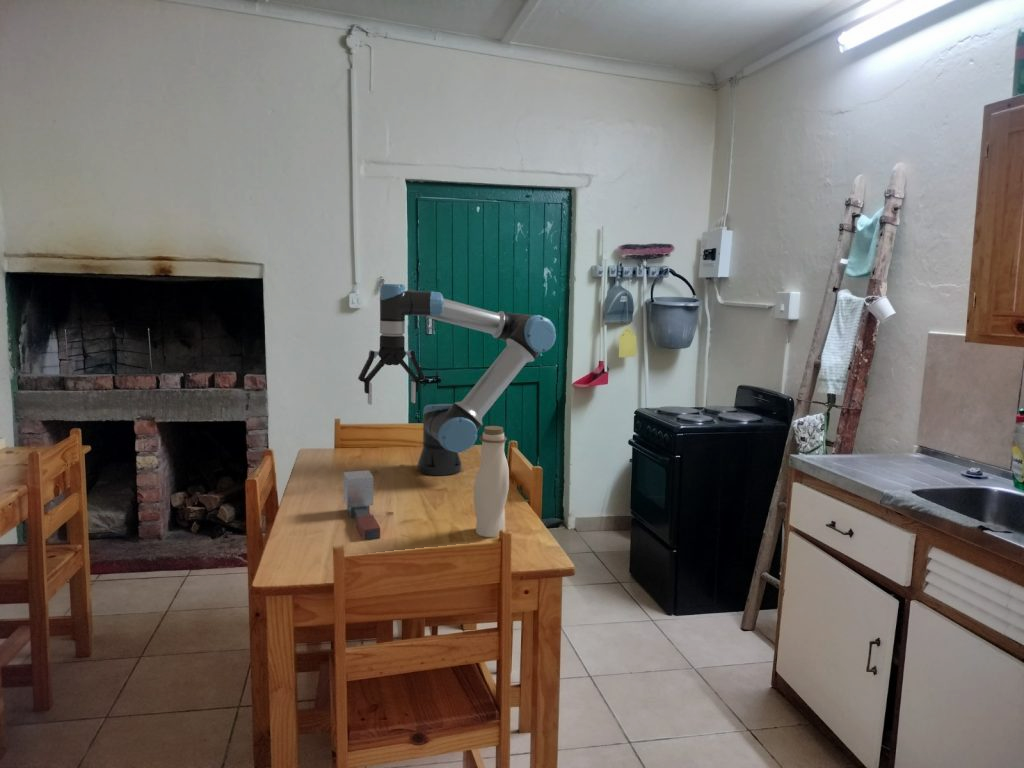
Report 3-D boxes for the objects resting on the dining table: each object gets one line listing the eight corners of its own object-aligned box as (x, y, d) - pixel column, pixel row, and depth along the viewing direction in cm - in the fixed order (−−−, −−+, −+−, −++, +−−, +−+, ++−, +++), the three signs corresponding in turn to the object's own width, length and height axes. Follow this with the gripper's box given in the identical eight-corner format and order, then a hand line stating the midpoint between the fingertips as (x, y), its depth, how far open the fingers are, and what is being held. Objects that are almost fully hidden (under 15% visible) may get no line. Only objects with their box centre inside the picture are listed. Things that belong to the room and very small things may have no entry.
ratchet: (364, 507, 194) (364, 484, 193) (381, 538, 172) (381, 511, 171) (347, 509, 192) (346, 485, 191) (361, 540, 170) (361, 513, 169)
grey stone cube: (368, 497, 194) (368, 470, 192) (373, 505, 187) (373, 477, 186) (343, 499, 191) (343, 472, 190) (347, 507, 184) (347, 479, 183)
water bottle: (472, 524, 184) (475, 422, 180) (505, 524, 185) (508, 423, 180) (473, 538, 174) (476, 431, 169) (508, 538, 174) (512, 432, 170)
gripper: (428, 333, 216) (427, 399, 219) (348, 333, 206) (349, 402, 210) (435, 335, 209) (433, 403, 212) (352, 335, 199) (353, 406, 203)
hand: (391, 403), depth 211 cm, fingers open, 13 cm apart
